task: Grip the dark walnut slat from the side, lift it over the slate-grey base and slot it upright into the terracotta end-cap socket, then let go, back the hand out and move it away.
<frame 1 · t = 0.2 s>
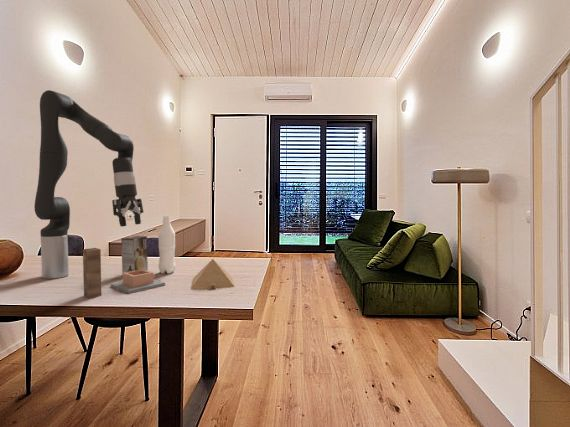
hand: (131, 225, 130), 22 cm above the table, tool pointing down, fingers open, 8 cm apart
walnut slat: (92, 295, 112), on the table
end cap socket: (138, 285, 124), on the table
water bottle: (167, 272, 146), on the table
coffee box: (135, 273, 144), on the table
model pyramid: (212, 284, 130), on the table
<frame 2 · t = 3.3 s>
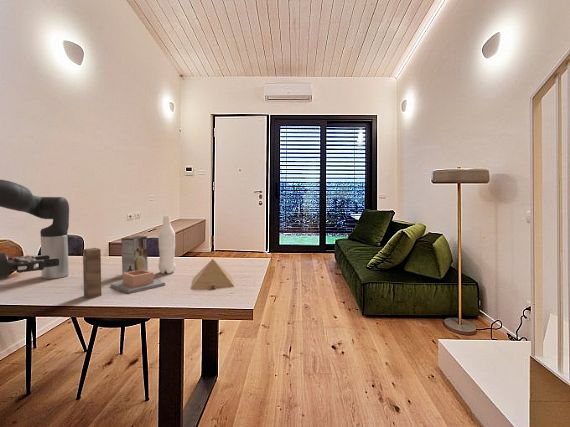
hand: (53, 260, 102), 14 cm above the table, tool horizontal, fingers open, 8 cm apart
nothing on the table moved.
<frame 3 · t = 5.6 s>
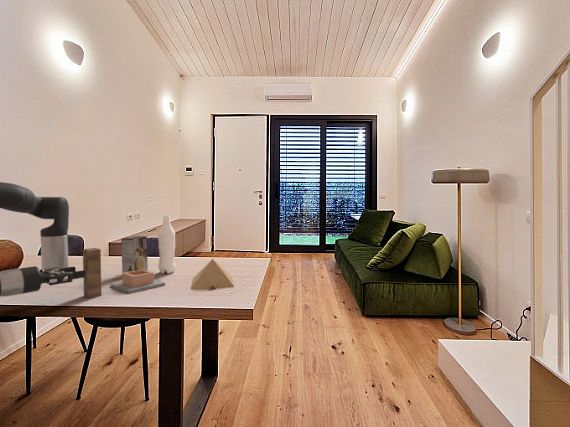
hand: (80, 271, 109), 9 cm above the table, tool horizontal, fingers open, 8 cm apart
nothing on the table moved.
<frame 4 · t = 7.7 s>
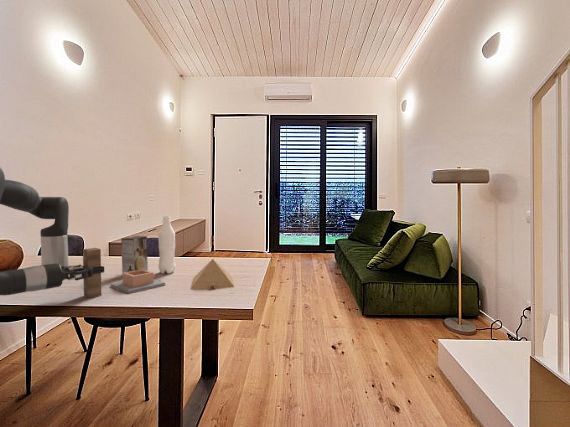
hand: (100, 268, 114), 9 cm above the table, tool horizontal, fingers closed on walnut slat, 4 cm apart
walnut slat: (92, 295, 112), on the table, touching gripper
everything else where it was.
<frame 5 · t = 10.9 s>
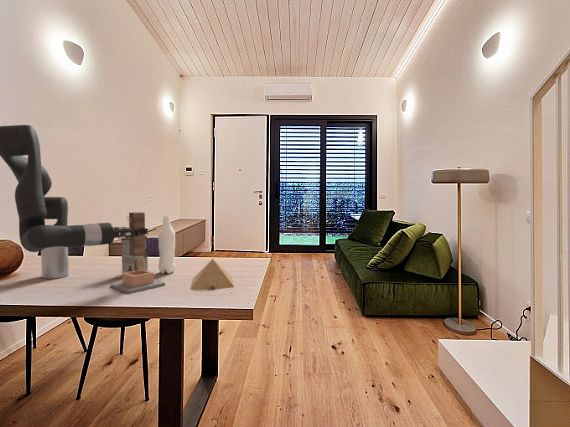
hand: (144, 230, 125), 21 cm above the table, tool horizontal, fingers closed on walnut slat, 4 cm apart
walnut slat: (137, 254, 124), point 12 cm above the table, touching gripper
everything else where it was.
when the fingers open (11 cm above the table, at t = 13.9 s): walnut slat drops 1 cm, resting on end cap socket.
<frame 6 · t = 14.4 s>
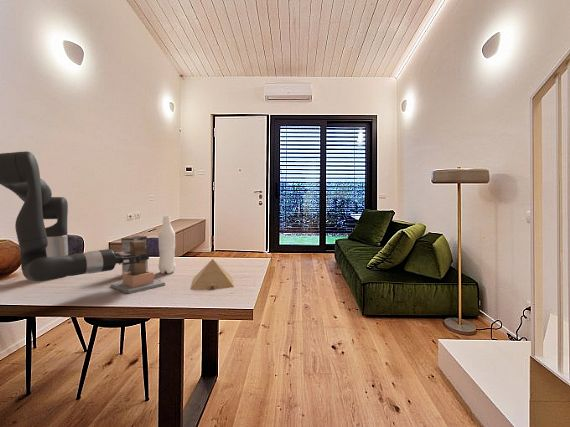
hand: (142, 255, 125), 12 cm above the table, tool horizontal, fingers open, 8 cm apart
walnut slat: (138, 283, 124), point 1 cm above the table, touching end cap socket
everything else where it was.
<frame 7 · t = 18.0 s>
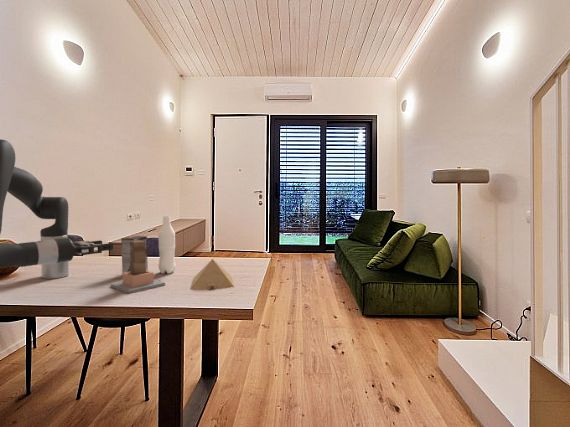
hand: (107, 244, 115), 17 cm above the table, tool horizontal, fingers open, 8 cm apart
nothing on the table moved.
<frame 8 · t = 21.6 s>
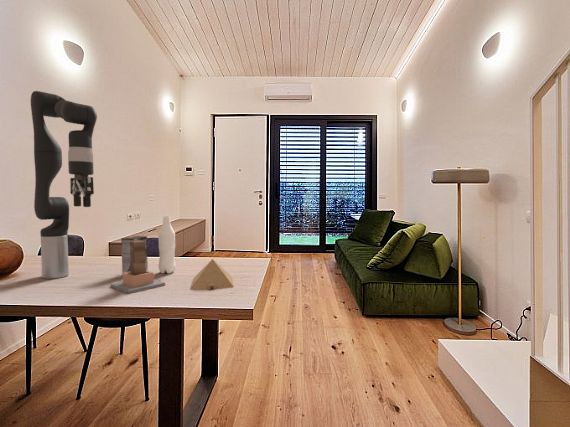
hand: (82, 206, 117), 30 cm above the table, tool pointing down, fingers open, 8 cm apart
nothing on the table moved.
at the end: walnut slat 0.0 cm off-centre on the end cap socket, point 1.0 cm above the end cap socket's base; walnut slat tilted 0°; the gripper is holding nothing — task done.
